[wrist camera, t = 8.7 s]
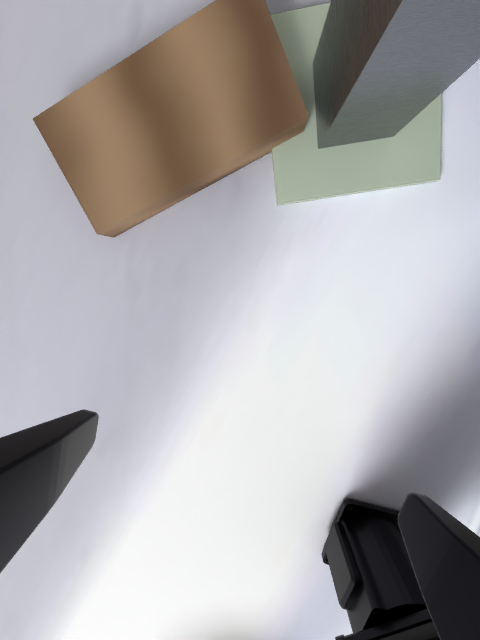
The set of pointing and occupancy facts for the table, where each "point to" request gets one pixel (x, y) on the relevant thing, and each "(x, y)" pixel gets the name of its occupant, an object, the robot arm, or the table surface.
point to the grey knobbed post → (388, 63)
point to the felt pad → (351, 159)
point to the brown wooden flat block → (176, 115)
